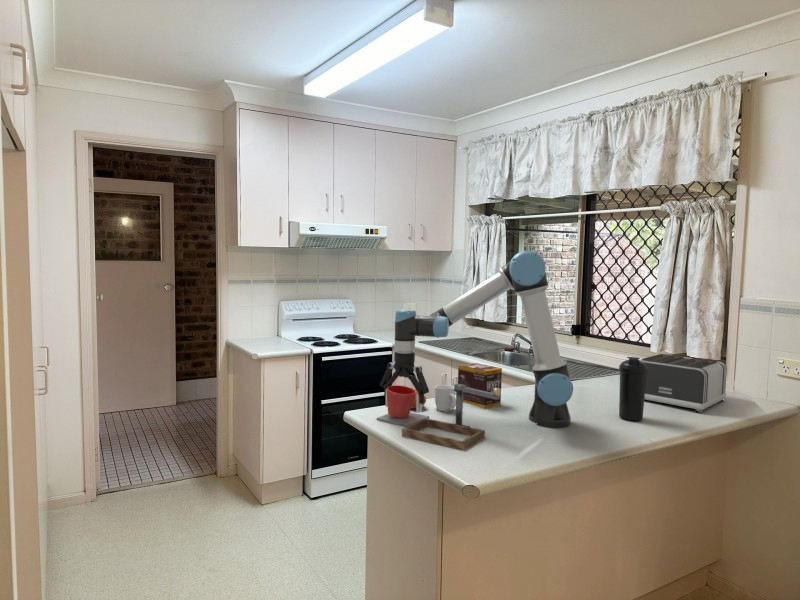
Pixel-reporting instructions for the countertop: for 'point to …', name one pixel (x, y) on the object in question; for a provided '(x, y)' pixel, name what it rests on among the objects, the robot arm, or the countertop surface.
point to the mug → (445, 397)
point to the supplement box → (480, 383)
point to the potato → (416, 399)
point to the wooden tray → (413, 433)
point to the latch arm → (478, 391)
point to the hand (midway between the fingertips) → (403, 408)
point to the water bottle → (632, 388)
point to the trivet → (403, 419)
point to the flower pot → (400, 400)
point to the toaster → (685, 381)
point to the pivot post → (459, 408)
